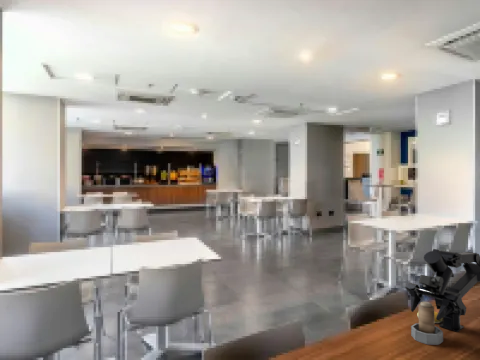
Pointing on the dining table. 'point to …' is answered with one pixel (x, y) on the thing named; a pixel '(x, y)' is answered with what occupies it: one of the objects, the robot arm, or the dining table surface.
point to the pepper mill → (426, 318)
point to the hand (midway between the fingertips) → (424, 315)
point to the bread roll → (434, 318)
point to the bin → (427, 335)
